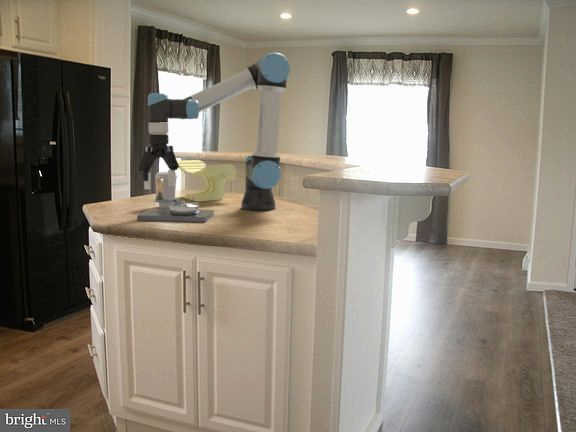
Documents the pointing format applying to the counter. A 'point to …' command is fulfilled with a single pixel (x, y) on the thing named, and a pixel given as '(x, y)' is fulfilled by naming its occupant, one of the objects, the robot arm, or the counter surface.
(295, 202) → the counter surface
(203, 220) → the plate
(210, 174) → the slatted curved stool
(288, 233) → the counter surface
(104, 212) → the counter surface
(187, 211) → the lever with amber grip
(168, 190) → the coffee cup
